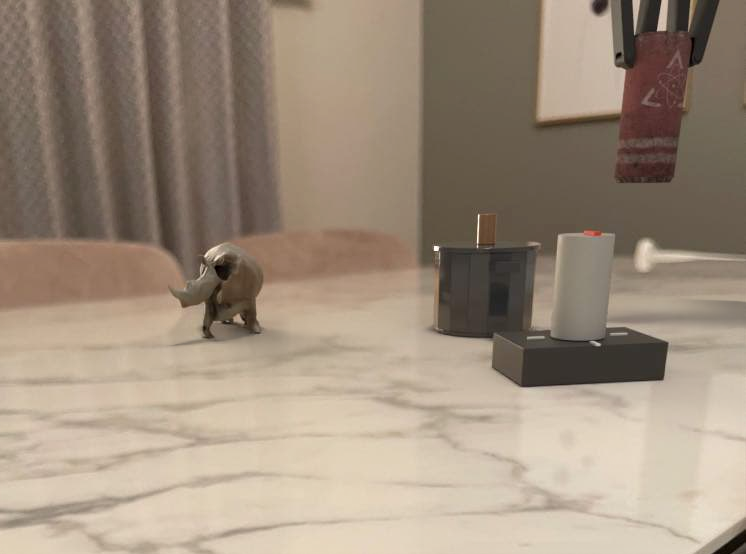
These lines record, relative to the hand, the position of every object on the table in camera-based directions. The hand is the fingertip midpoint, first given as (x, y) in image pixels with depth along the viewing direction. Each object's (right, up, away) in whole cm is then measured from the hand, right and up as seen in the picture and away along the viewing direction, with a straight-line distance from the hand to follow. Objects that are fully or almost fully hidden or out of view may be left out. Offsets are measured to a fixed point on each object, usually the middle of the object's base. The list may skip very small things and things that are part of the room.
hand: (648, 143), depth 90 cm
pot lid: (-17, -11, 0) cm, 21 cm away
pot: (-17, -19, +4) cm, 26 cm away
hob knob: (-13, -25, -19) cm, 34 cm away
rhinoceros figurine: (-45, -19, +5) cm, 50 cm away
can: (0, -4, +2) cm, 4 cm away
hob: (-13, -28, -18) cm, 36 cm away
